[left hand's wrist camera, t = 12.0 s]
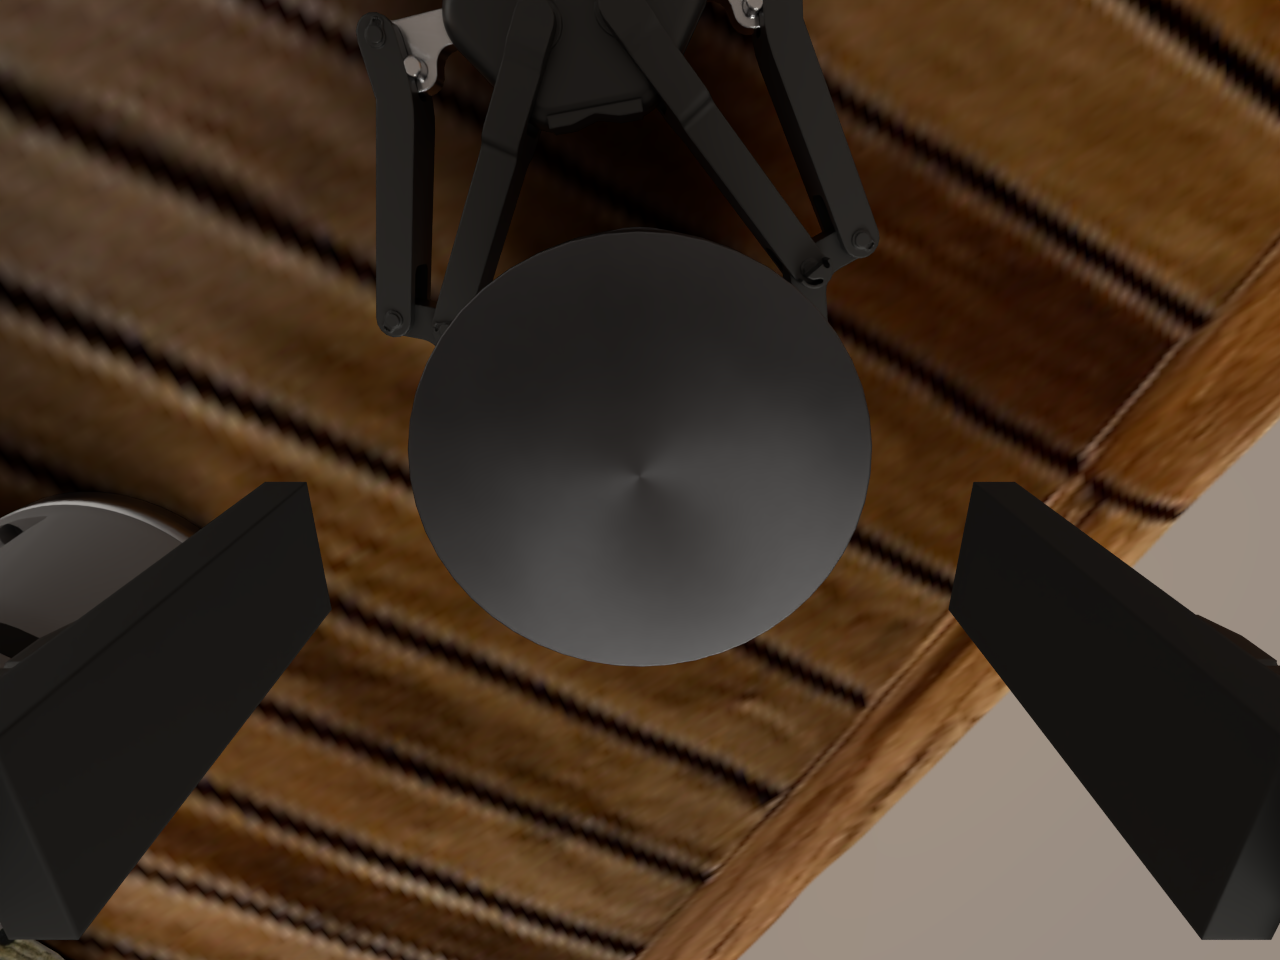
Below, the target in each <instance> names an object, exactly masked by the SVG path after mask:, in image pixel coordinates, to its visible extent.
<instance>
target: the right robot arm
mask: <svg viewBox="0 0 1280 960" xmlns="http://www.w3.org/2000/svg"><path fill="white" fill-rule="evenodd" d="M708 1H715V2H717V3H720V4H721V5H722V6H724V7H725V9H726V10H727V12H728V15H729V18H730V21H731V24H732V26H733V27H734V29H735V30H736V31H737V32H739V33H741V34H744V35H750V34H752V40H753V45H754V50H755V55H756V58H757V61H758V64H759V68H760V71H761V73H762V76H763V78H764V81H765V84H766V86H767V89H768V91H769V94H770V97H771V99H772V102H773V104H774V107H775V110H776V112H777V115H778V118H779V120H780V123H781V125H782V128H783V131H784V133H785V136H786V138H787V141H788V144H789V146H790V149H791V151H792V154H793V157H794V159H795V162H796V165H797V167H798V170H799V172H800V175H801V178H802V180H803V183H804V185H805V188H806V191H807V193H808V196H809V198H810V201H811V204H812V206H813V209H814V212H815V214H816V217H817V219H818V222H819V225H820V227H821V230H822V232H821V233H820V234H818V235H816V236H814V237H813V238H811V237H810V235H809V234H808V233H807V231H806V230H805V228H804V227H803V226H802V224H801V223H800V222H799V220H798V219H797V217H796V216H795V215H794V213H793V212H792V210H791V209H790V208H789V206H788V205H787V204H786V202H785V201H784V199H783V198H782V197H781V195H780V194H779V192H778V191H777V190H776V188H775V187H774V185H773V184H772V183H771V181H770V180H769V179H768V177H767V176H766V174H765V173H764V172H763V170H762V169H761V167H760V166H759V165H758V163H757V162H756V161H755V159H754V158H753V156H752V155H751V154H750V152H749V151H748V149H747V148H746V147H745V145H744V144H743V142H742V141H741V140H740V138H739V137H738V136H737V134H736V133H735V131H734V130H733V129H732V127H731V126H730V124H729V123H728V122H727V120H726V119H725V118H724V116H723V115H722V113H721V112H720V111H719V109H718V108H717V106H716V105H715V103H714V102H713V100H712V98H711V95H710V93H709V92H708V90H707V88H706V87H705V85H704V84H703V82H702V81H701V80H700V78H699V77H698V75H697V74H696V73H695V71H694V70H693V69H692V67H691V66H690V64H689V63H688V62H687V60H686V59H685V57H684V56H683V54H684V52H685V50H686V48H687V45H688V43H689V41H690V39H691V37H692V34H693V32H694V30H695V28H696V26H697V23H698V21H699V19H700V17H701V14H702V12H703V10H704V8H705V5H706V2H708ZM356 34H357V40H358V44H359V47H360V50H361V53H362V56H363V60H364V63H365V66H366V69H367V72H368V76H369V79H370V82H371V85H372V88H373V92H374V95H375V98H376V318H377V323H378V326H379V327H380V329H381V331H383V332H384V333H385V334H386V335H389V336H392V337H400V336H408V337H413V338H419V339H424V340H427V341H429V342H431V343H433V344H434V345H435V346H436V345H437V343H438V341H439V339H440V338H441V336H442V335H443V333H444V332H445V331H446V329H447V328H448V327H449V325H450V324H451V323H452V321H453V320H454V319H455V317H456V316H457V315H458V313H459V312H460V311H461V310H462V309H463V308H464V307H465V306H466V305H467V304H468V303H469V302H470V301H471V300H472V299H473V298H474V297H475V296H476V295H477V294H478V293H479V292H480V291H481V290H482V289H483V288H484V287H485V286H487V285H488V284H489V283H491V282H492V281H493V278H494V274H495V271H496V268H497V265H498V261H499V258H500V255H501V252H502V248H503V245H504V242H505V239H506V235H507V232H508V229H509V226H510V222H511V219H512V216H513V213H514V209H515V206H516V203H517V200H518V197H519V193H520V190H521V187H522V184H523V180H524V177H525V174H526V171H527V168H528V165H529V163H530V161H531V159H532V157H533V155H534V152H535V149H536V146H537V143H538V139H539V136H540V133H541V130H543V131H547V132H553V133H554V134H555V135H560V134H566V133H571V132H576V131H579V130H581V129H583V128H585V127H587V126H589V125H591V124H593V123H594V122H596V121H608V122H617V123H625V122H630V121H635V120H641V119H643V116H644V115H646V114H648V113H650V112H651V111H652V110H654V109H655V108H657V109H658V110H659V112H660V113H661V114H662V116H663V117H664V118H665V120H666V121H667V122H668V124H669V125H670V126H671V128H672V129H673V130H674V131H675V132H676V133H677V134H678V135H679V136H680V138H681V139H682V140H683V141H684V143H685V144H686V145H687V147H688V148H689V149H690V151H691V152H692V153H693V155H694V156H695V157H696V159H697V160H698V161H699V163H700V164H701V165H702V167H703V168H704V169H705V171H706V172H707V173H708V175H709V176H710V177H711V179H712V180H713V181H714V183H715V184H716V185H717V187H718V188H719V189H720V191H721V192H722V193H723V195H724V196H725V197H726V199H727V200H728V201H729V203H730V204H731V205H732V207H733V208H734V209H735V211H736V212H737V213H738V215H739V216H740V217H741V219H742V220H743V221H744V223H745V224H746V225H747V227H748V228H749V229H750V231H751V232H752V233H753V235H754V236H755V237H756V239H757V240H758V241H759V243H760V244H761V245H762V247H763V248H764V249H765V251H766V252H767V253H768V255H769V256H770V257H771V259H772V260H773V261H774V263H775V264H776V265H777V267H778V268H779V269H780V271H781V272H782V273H783V278H784V279H785V280H787V281H788V282H789V283H791V284H792V285H794V286H795V287H796V288H797V289H798V290H799V291H800V292H801V293H802V294H803V295H804V296H805V297H806V298H807V299H808V300H809V301H810V302H811V303H812V304H813V305H814V306H815V307H817V309H818V310H819V311H820V312H821V314H822V315H823V316H824V318H825V319H826V320H827V321H828V319H827V302H826V286H827V283H828V281H829V280H830V279H831V277H832V274H833V273H834V272H835V271H837V270H838V269H840V268H841V267H843V266H845V265H847V264H849V263H850V262H852V261H854V260H856V259H858V258H863V257H867V256H869V255H870V254H871V253H873V252H874V250H875V249H876V247H877V246H878V242H879V232H878V229H877V226H876V223H875V220H874V217H873V214H872V212H871V209H870V206H869V203H868V200H867V198H866V195H865V192H864V189H863V186H862V183H861V181H860V178H859V175H858V172H857V169H856V166H855V164H854V161H853V158H852V155H851V152H850V150H849V147H848V144H847V141H846V138H845V135H844V133H843V130H842V127H841V124H840V121H839V118H838V116H837V113H836V110H835V107H834V104H833V102H832V99H831V96H830V93H829V90H828V87H827V85H826V82H825V79H824V76H823V73H822V70H821V68H820V65H819V62H818V59H817V56H816V54H815V51H814V48H813V45H812V42H811V39H810V37H809V34H808V31H807V28H806V25H805V22H804V20H803V0H443V4H442V8H441V9H437V10H433V11H430V12H426V13H422V14H418V15H414V16H410V17H406V18H402V19H398V20H394V21H391V20H389V19H388V18H387V17H385V16H384V15H381V14H379V13H377V12H369V13H367V14H365V15H363V16H362V17H361V19H360V20H359V22H358V24H357V29H356ZM457 50H459V51H460V52H461V53H462V54H463V56H464V57H465V58H466V59H467V60H468V61H469V62H470V63H471V64H472V65H473V66H474V67H475V68H476V69H477V70H478V71H479V72H480V73H481V74H482V75H483V76H484V78H485V79H486V80H487V81H488V82H489V83H490V84H491V85H492V86H493V87H494V90H493V94H492V98H491V101H490V105H489V108H488V112H487V115H486V119H485V122H484V126H483V130H482V145H481V150H480V154H479V157H478V161H477V164H476V168H475V171H474V175H473V178H472V182H471V185H470V189H469V192H468V196H467V199H466V203H465V207H464V210H463V214H462V217H461V221H460V224H459V228H458V231H457V235H456V238H455V242H454V245H453V249H452V253H451V256H450V260H449V263H448V267H447V270H446V274H445V277H444V281H443V284H442V288H441V291H440V295H439V298H438V302H437V301H432V300H430V292H431V256H432V219H433V183H434V147H435V116H434V108H433V101H432V96H431V95H434V94H436V93H438V92H439V91H440V90H441V88H442V87H443V85H444V80H445V75H444V66H445V62H446V60H447V58H448V56H449V55H450V54H451V53H452V52H455V51H457Z"/></svg>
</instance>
